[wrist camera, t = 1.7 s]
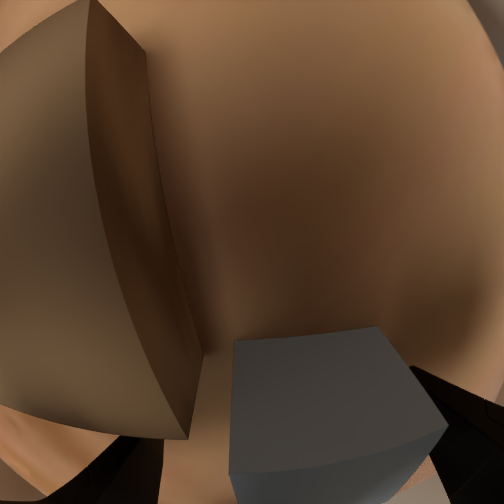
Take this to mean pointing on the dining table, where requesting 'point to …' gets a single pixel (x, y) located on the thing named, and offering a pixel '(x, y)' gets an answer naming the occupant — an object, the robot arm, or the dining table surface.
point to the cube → (326, 419)
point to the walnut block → (88, 237)
